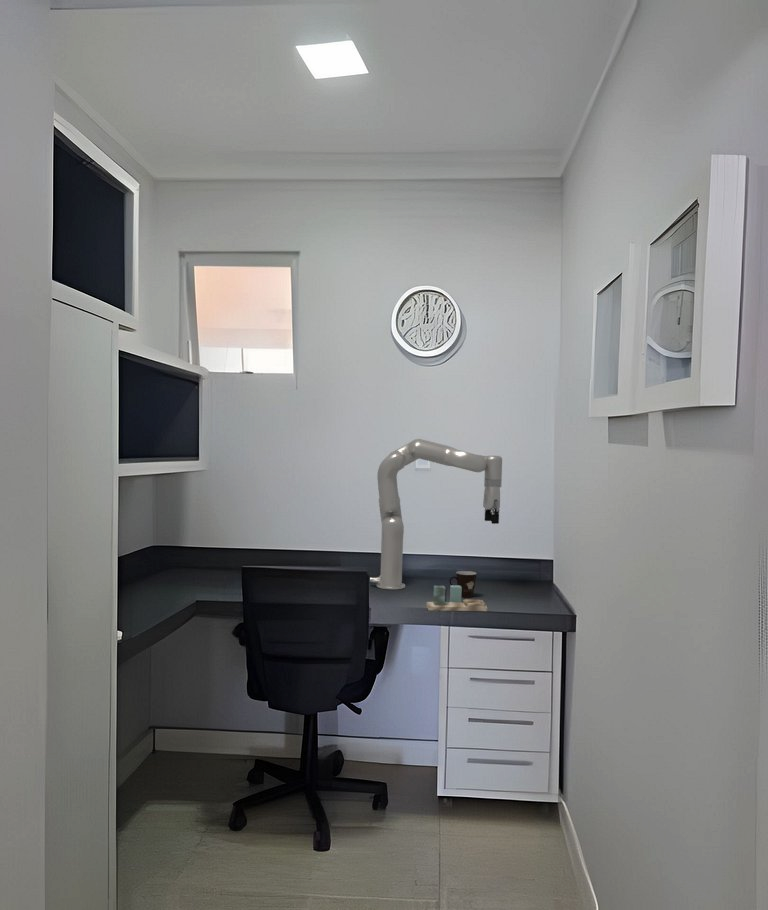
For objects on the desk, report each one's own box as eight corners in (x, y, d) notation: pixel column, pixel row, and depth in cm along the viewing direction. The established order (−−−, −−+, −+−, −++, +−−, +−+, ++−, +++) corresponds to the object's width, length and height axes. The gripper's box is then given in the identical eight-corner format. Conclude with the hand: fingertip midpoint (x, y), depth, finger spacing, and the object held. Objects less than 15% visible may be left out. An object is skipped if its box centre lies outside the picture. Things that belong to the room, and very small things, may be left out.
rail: (428, 610, 313) (429, 588, 313) (426, 605, 321) (427, 584, 321) (487, 611, 315) (487, 589, 314) (483, 606, 323) (484, 585, 322)
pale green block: (461, 604, 325) (461, 587, 325) (451, 604, 325) (451, 587, 325) (459, 602, 330) (459, 585, 330) (449, 602, 330) (450, 585, 329)
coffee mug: (474, 594, 346) (475, 571, 345) (476, 598, 337) (477, 575, 337) (447, 593, 346) (448, 570, 345) (449, 598, 337) (449, 574, 337)
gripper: (478, 482, 363) (477, 519, 364) (490, 485, 346) (489, 524, 347) (494, 482, 365) (493, 519, 365) (507, 485, 348) (506, 524, 348)
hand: (491, 522), depth 356 cm, fingers open, 9 cm apart
